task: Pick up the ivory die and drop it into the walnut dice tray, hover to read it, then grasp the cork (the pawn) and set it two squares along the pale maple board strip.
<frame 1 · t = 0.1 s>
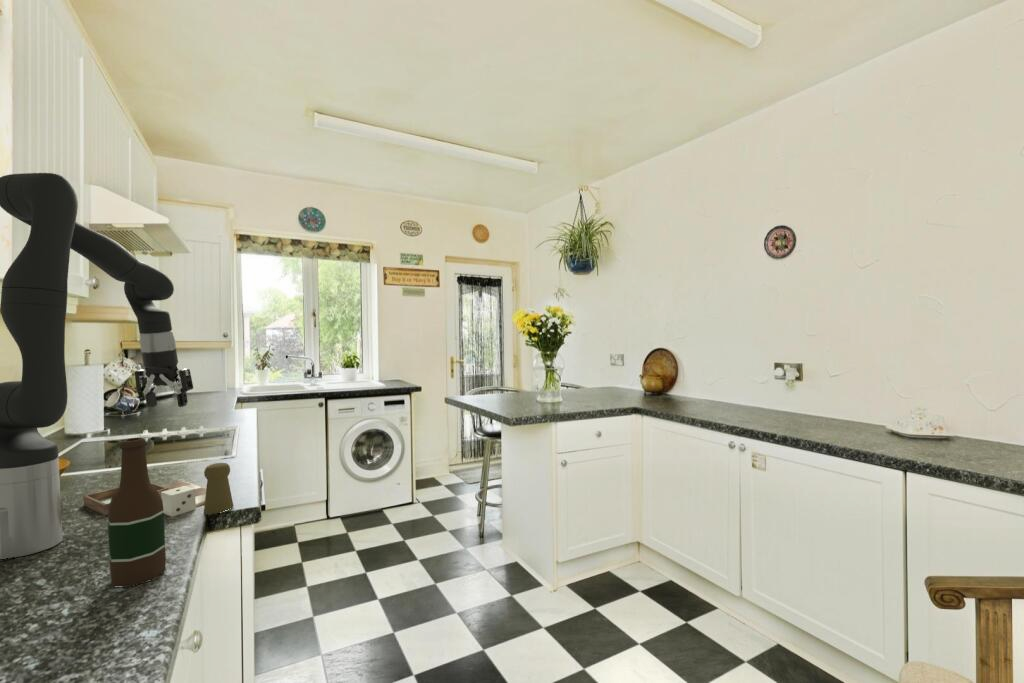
hand: (167, 406, 127), 22 cm above the worktop, tool pointing down, fingers open, 8 cm apart
board: (189, 493, 122), on the worktop
dice tray: (127, 501, 117), on the worktop
beer bottle: (138, 577, 80), on the worktop
die: (178, 511, 110), on the worktop
cork: (218, 510, 110), on the worktop
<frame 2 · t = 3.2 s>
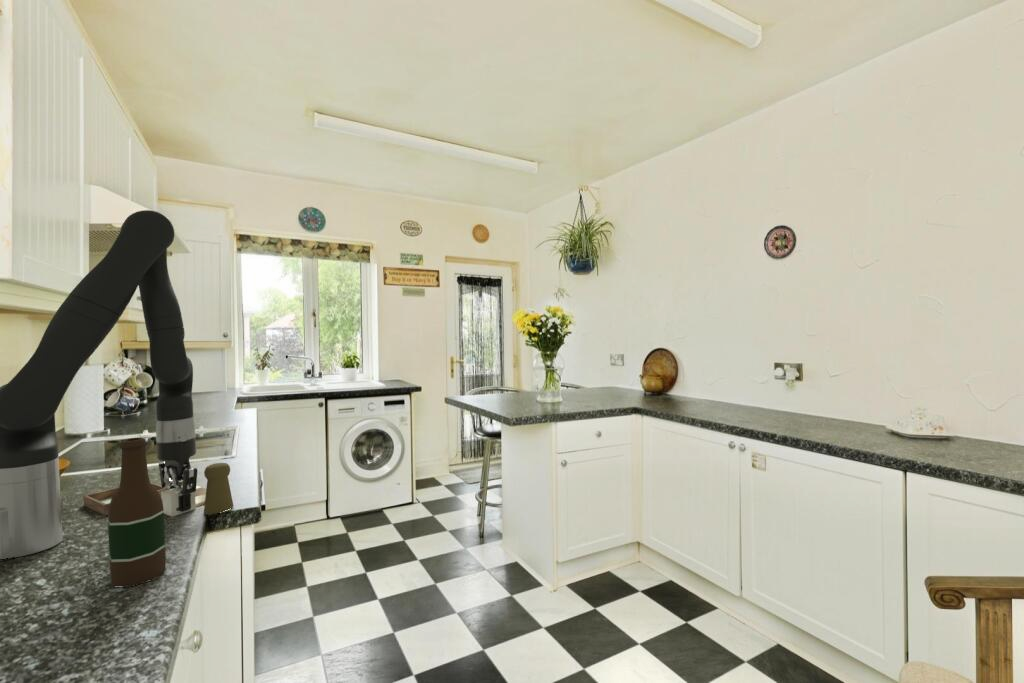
hand: (179, 507, 110), 1 cm above the worktop, tool pointing down, fingers closed on die, 5 cm apart
die: (178, 510, 110), on the worktop, touching gripper
everything else where it was.
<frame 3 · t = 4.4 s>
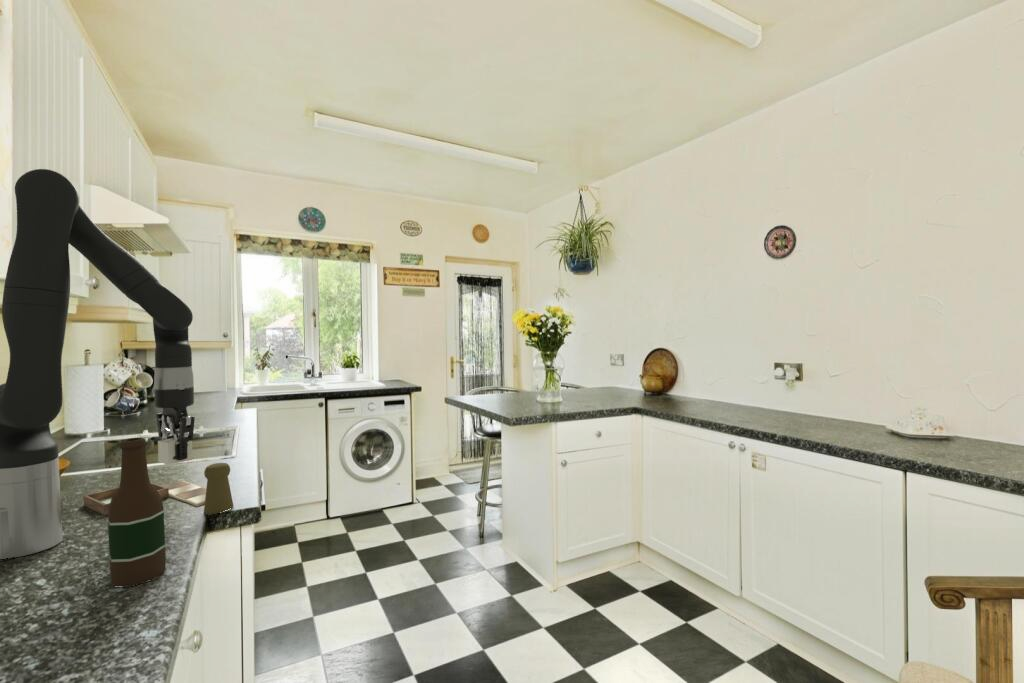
hand: (175, 457, 109), 13 cm above the worktop, tool pointing down, fingers closed on die, 5 cm apart
die: (175, 460, 109), point 12 cm above the worktop, touching gripper
everything else where it was.
when the fingers open (9 cm above the worktop, at t = 5.9 s): die drops 8 cm, resting on dice tray.
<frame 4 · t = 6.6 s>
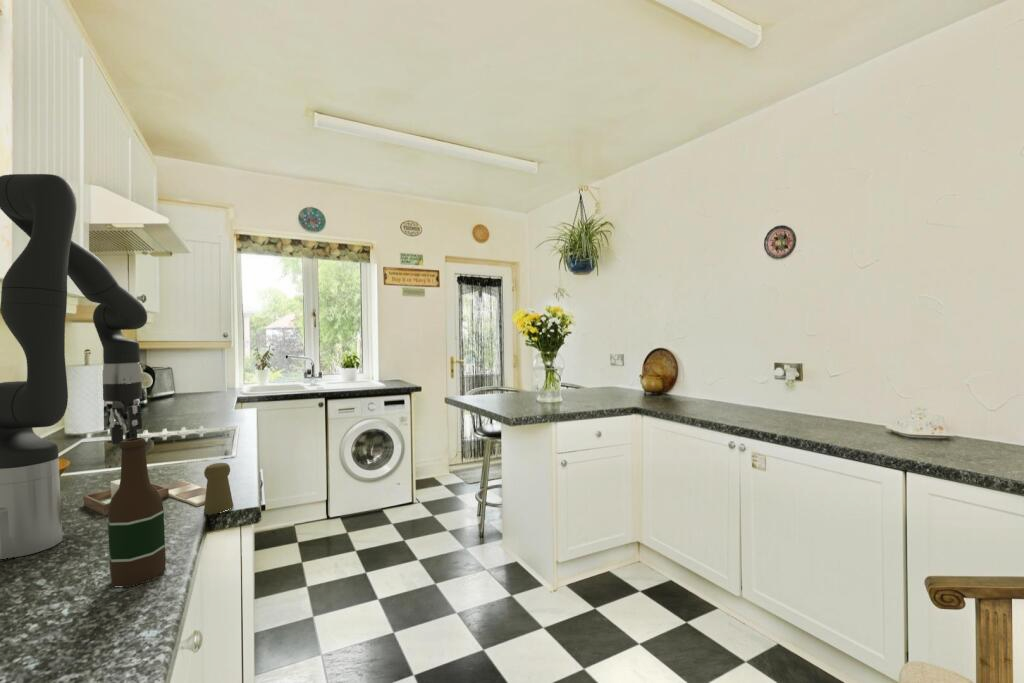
hand: (124, 445, 116), 14 cm above the worktop, tool pointing down, fingers open, 8 cm apart
die: (127, 499, 117), resting on dice tray
everything else where it was.
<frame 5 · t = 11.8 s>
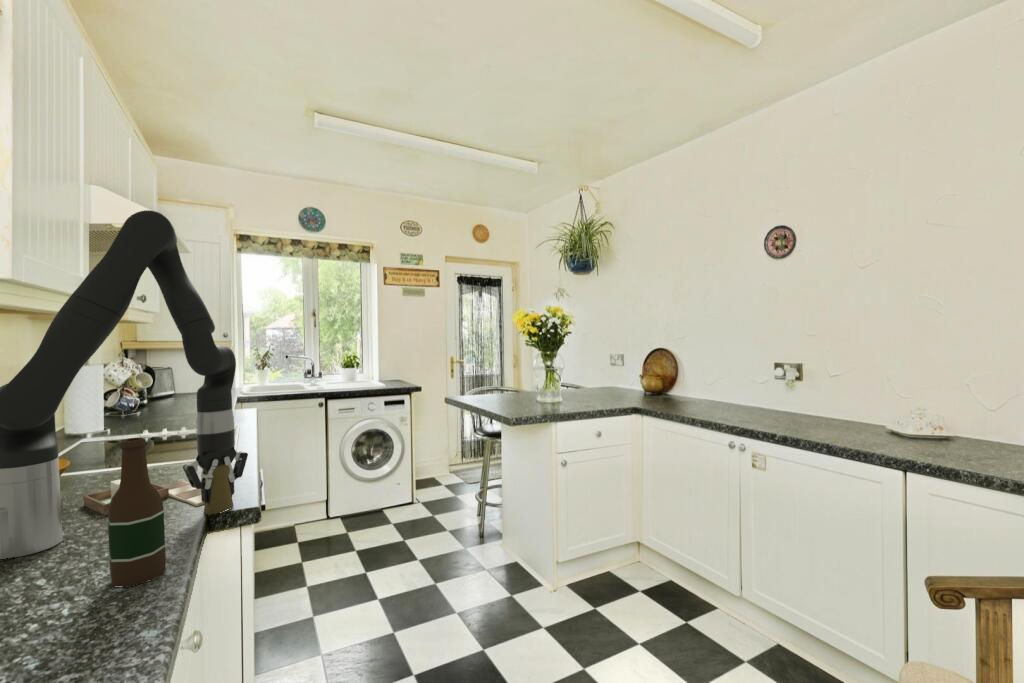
hand: (218, 500, 110), 2 cm above the worktop, tool pointing down, fingers closed on cork, 4 cm apart
cork: (218, 510, 110), on the worktop, touching gripper
everything else where it was.
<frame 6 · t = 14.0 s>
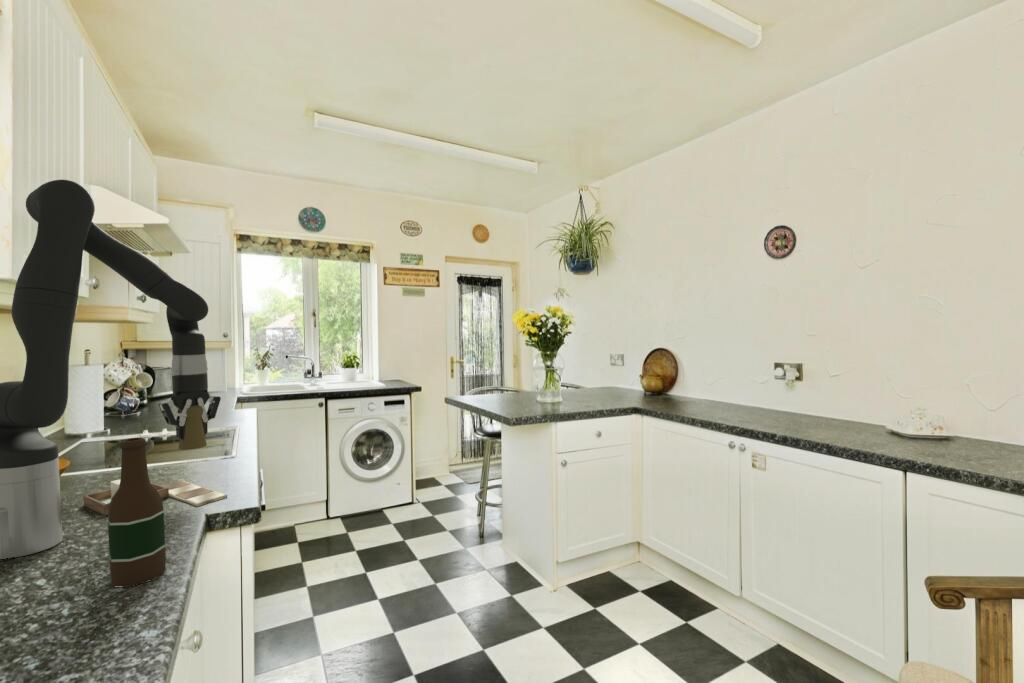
hand: (192, 438, 119), 15 cm above the worktop, tool pointing down, fingers closed on cork, 4 cm apart
cork: (192, 447, 120), point 13 cm above the worktop, touching gripper
everything else where it was.
when the fingers open (4 cm above the worktop, at t = 16.4 s): cork stays where it is, resting on board.
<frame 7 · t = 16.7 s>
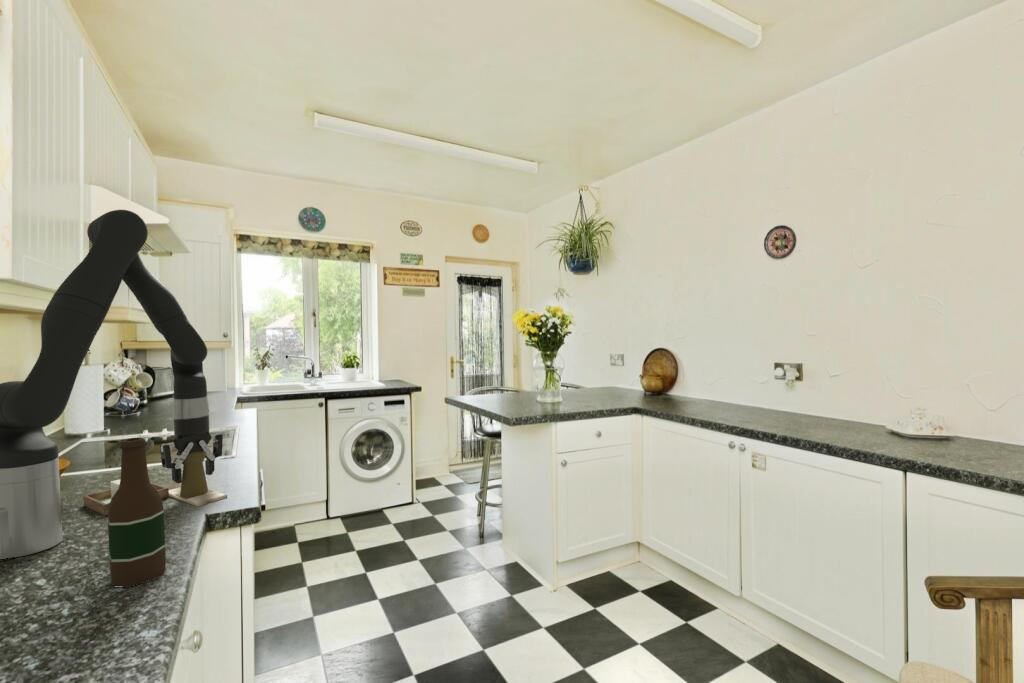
hand: (194, 478, 120), 5 cm above the worktop, tool pointing down, fingers open, 6 cm apart
cork: (194, 493, 120), point 1 cm above the worktop, touching board
everything else where it was.
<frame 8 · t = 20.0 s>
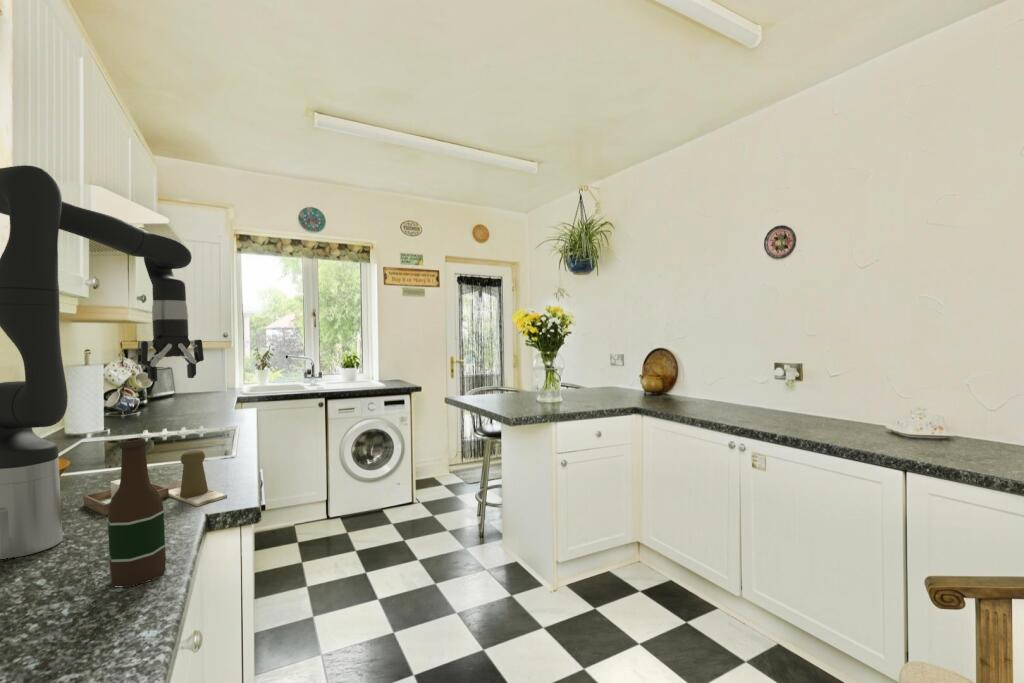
hand: (172, 379, 122), 30 cm above the worktop, tool pointing down, fingers open, 8 cm apart
nothing on the worktop moved.
at the end: cork 0.0 cm from the target spot, point 0.5 cm above the worktop; cork tilted 0°; die inside the target area on the dice tray (0.1 cm from its centre), point 0.4 cm above the dice tray's base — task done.
